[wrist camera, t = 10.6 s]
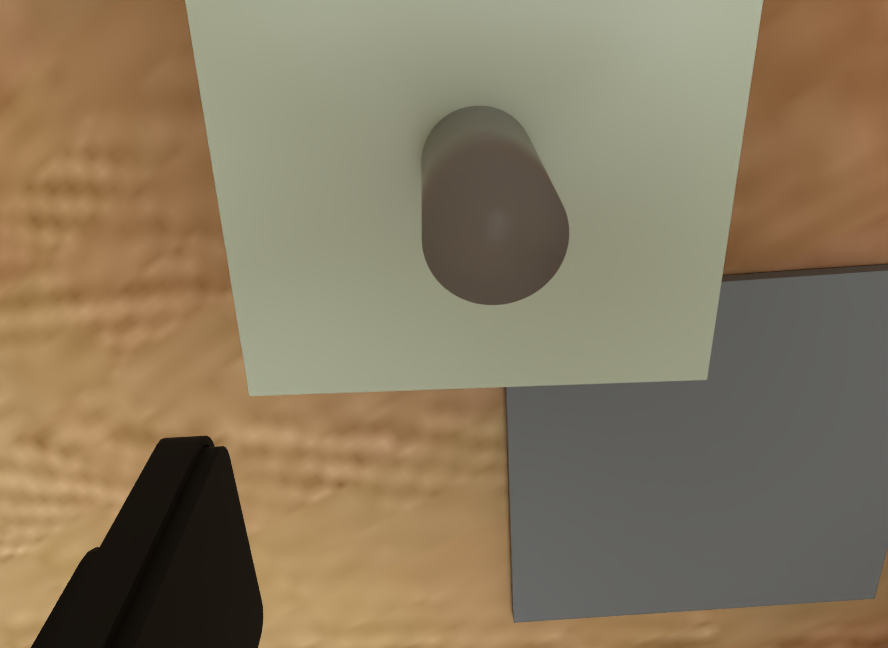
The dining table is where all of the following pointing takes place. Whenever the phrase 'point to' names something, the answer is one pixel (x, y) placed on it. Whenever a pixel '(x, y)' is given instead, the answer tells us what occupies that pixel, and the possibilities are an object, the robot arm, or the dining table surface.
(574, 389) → the rubber mat
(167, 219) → the dining table surface
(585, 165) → the cover board
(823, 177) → the dining table surface
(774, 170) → the dining table surface
